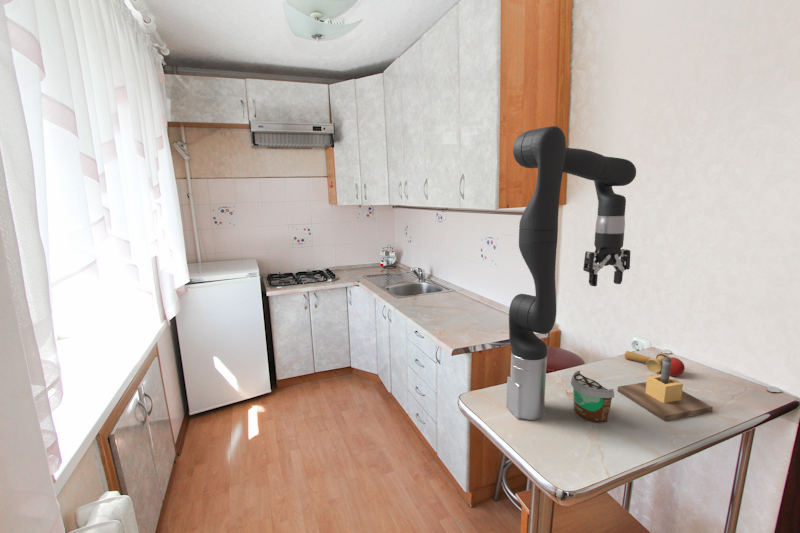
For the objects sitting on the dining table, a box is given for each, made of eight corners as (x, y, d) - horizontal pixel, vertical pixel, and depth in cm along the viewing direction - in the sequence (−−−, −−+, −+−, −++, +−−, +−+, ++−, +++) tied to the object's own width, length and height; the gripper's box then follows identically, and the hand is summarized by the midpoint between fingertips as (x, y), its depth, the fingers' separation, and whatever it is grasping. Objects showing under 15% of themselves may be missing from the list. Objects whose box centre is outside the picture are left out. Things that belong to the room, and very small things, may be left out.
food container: (559, 405, 109) (561, 373, 107) (576, 401, 111) (578, 369, 109) (593, 430, 98) (596, 394, 96) (611, 425, 100) (615, 389, 98)
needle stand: (664, 421, 101) (669, 373, 98) (617, 391, 116) (621, 349, 114) (712, 411, 104) (718, 365, 102) (660, 383, 120) (665, 343, 117)
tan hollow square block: (663, 403, 106) (665, 386, 105) (645, 392, 112) (647, 376, 111) (680, 400, 108) (683, 383, 107) (661, 389, 114) (663, 374, 113)
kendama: (619, 365, 136) (676, 379, 120) (620, 347, 136) (677, 359, 120) (632, 364, 140) (688, 377, 124) (632, 346, 140) (689, 357, 124)
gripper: (598, 233, 107) (593, 289, 110) (640, 231, 110) (635, 285, 113) (579, 231, 114) (576, 283, 117) (620, 228, 117) (615, 280, 120)
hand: (605, 284), depth 115 cm, fingers open, 8 cm apart
